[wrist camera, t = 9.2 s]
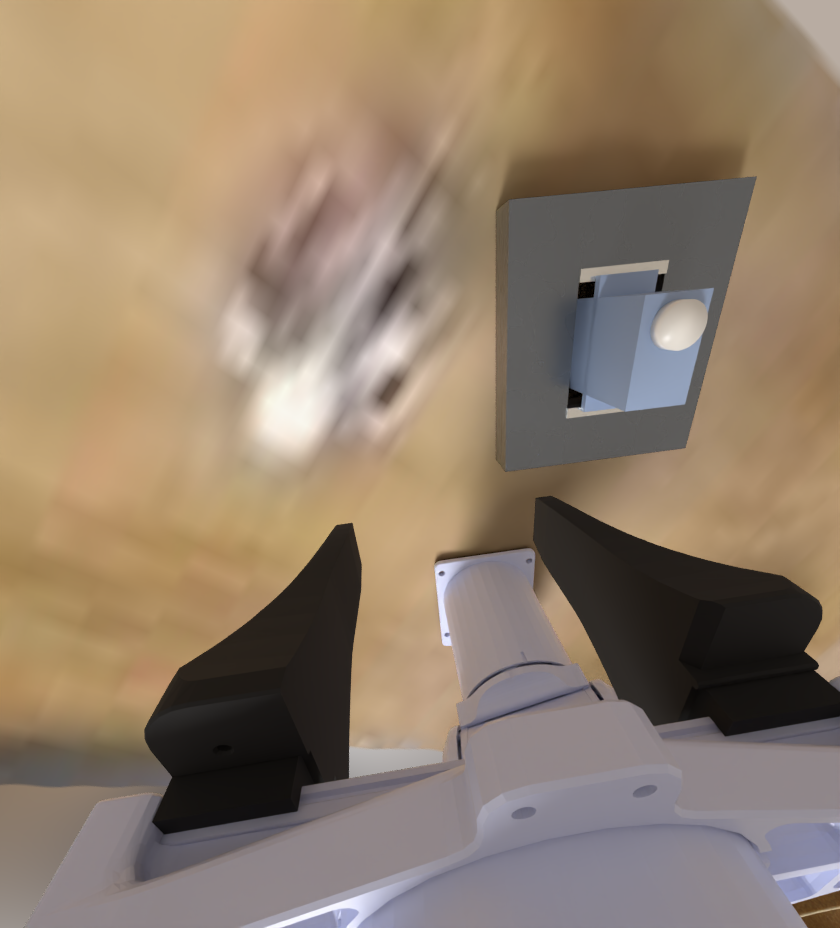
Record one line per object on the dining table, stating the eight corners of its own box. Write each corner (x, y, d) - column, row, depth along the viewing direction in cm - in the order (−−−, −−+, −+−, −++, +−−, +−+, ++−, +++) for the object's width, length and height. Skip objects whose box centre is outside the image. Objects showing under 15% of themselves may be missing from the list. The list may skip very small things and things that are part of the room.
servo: (607, 395, 22) (690, 427, 16) (562, 401, 22) (629, 435, 16) (624, 274, 19) (735, 258, 13) (573, 279, 19) (661, 265, 13)
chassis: (662, 437, 24) (686, 448, 22) (495, 459, 23) (505, 472, 21) (718, 189, 18) (758, 175, 16) (495, 211, 17) (509, 199, 15)
